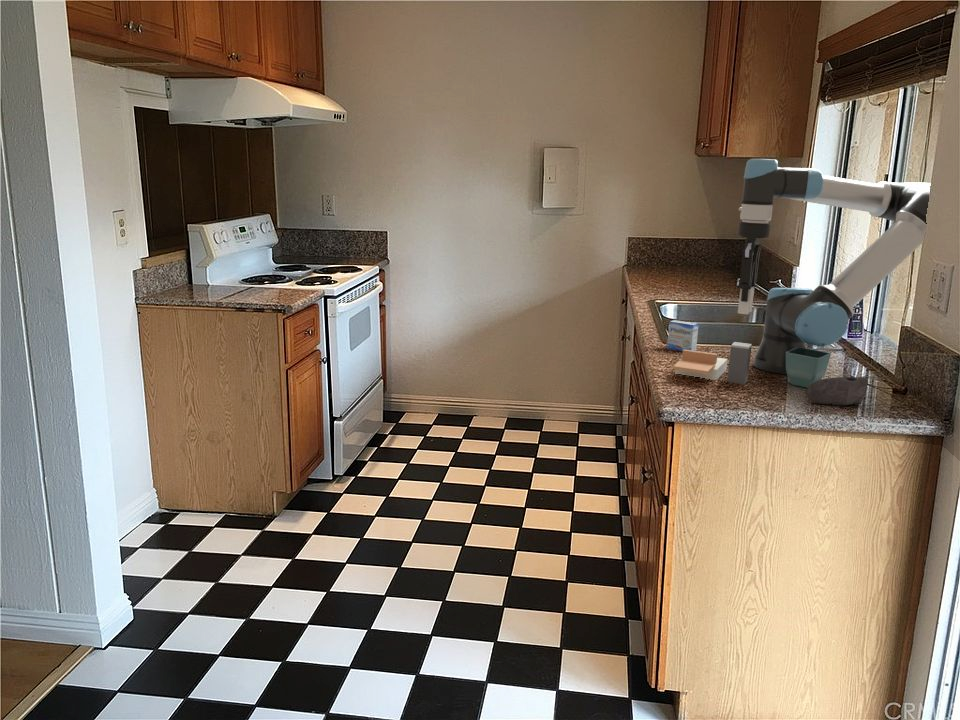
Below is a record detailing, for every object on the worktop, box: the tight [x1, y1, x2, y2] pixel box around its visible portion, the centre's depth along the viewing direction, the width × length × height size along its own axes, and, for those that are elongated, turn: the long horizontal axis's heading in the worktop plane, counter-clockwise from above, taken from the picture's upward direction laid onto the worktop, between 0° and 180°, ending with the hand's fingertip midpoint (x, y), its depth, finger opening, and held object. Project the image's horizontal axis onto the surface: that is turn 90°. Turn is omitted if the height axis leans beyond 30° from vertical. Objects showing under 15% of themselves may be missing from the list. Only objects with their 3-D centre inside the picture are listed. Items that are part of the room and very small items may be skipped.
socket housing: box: [674, 357, 729, 381], centre depth 221 cm, size 11×14×3 cm
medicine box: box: [666, 319, 700, 352], centre depth 247 cm, size 8×4×9 cm, turn 55°
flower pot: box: [786, 347, 832, 388], centre depth 211 cm, size 9×9×9 cm
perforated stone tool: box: [806, 376, 869, 406], centre depth 195 cm, size 15×5×7 cm, turn 89°
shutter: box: [672, 349, 718, 374], centre depth 213 cm, size 9×10×3 cm
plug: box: [726, 341, 752, 385], centre depth 212 cm, size 4×4×10 cm
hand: (744, 312), depth 209 cm, fingers open, 3 cm apart
